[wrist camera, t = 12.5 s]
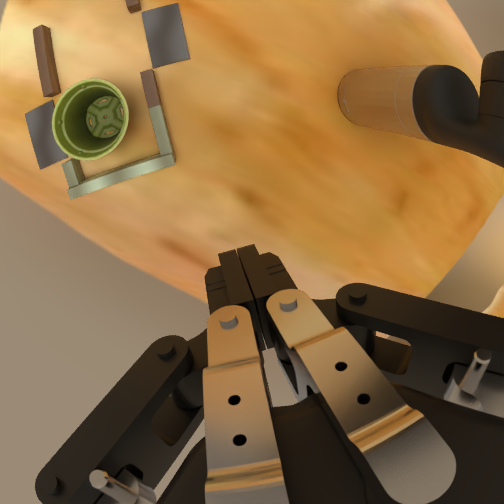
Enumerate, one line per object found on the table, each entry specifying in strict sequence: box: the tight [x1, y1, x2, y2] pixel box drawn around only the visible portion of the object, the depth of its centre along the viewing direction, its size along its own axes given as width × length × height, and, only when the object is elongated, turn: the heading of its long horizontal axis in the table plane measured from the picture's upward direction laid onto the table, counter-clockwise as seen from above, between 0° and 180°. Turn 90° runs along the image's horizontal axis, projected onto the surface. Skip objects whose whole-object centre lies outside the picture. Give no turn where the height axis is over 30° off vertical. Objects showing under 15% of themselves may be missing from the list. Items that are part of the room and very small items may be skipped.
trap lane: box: [25, 0, 190, 200], centre depth 32 cm, size 25×26×4 cm
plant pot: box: [52, 78, 129, 161], centre depth 31 cm, size 9×9×9 cm
